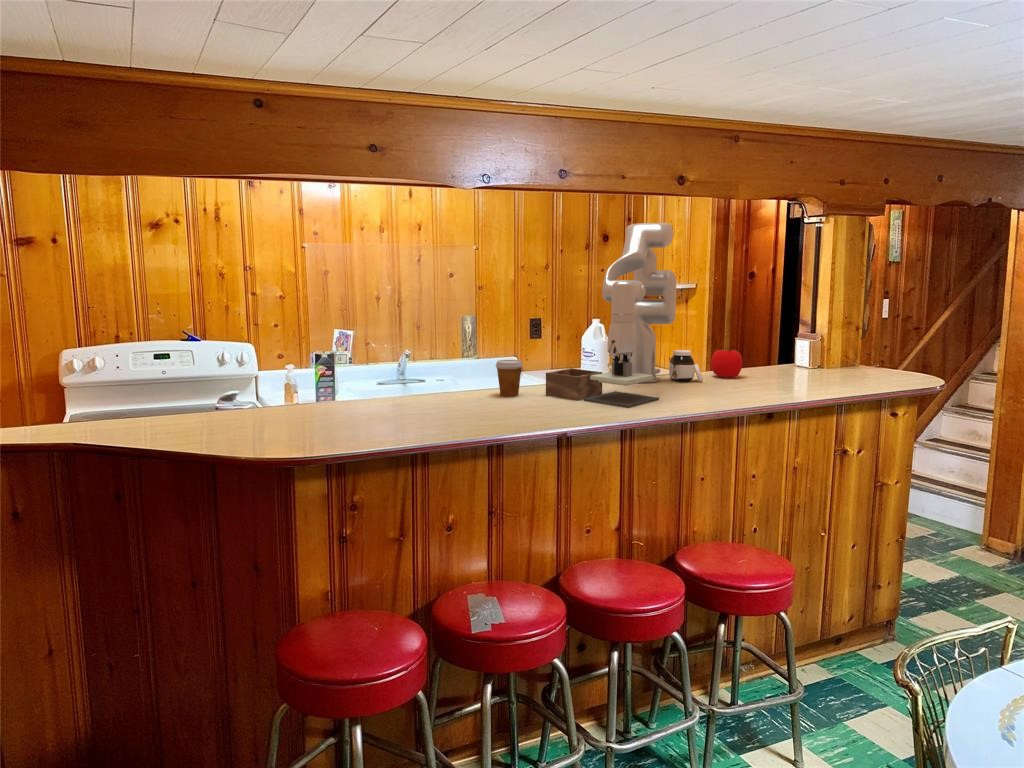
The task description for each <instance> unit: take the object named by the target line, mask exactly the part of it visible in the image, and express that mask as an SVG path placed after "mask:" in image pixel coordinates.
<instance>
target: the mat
mask: <svg viewBox="0 0 1024 768" xmlns="http://www.w3.org/2000/svg"><path fill="white" fill-rule="evenodd" d="M659 400H660V397H657V396H653V395H652V396H649V395H644V394H637V393H628V392H623V391H616V390H615V391H611V392H606V393H602V394H601V395H597V396H592V397H588V398H584V399H583V402H587V403H593V404H594V403H596V404H601V405H608V406H613V407H621V408H626V409H629V408H634V407H637V406H641V405H645V404H648V403H652V402H656V401H659Z"/></svg>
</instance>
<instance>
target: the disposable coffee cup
mask: <svg viewBox="0 0 1024 768" xmlns="http://www.w3.org/2000/svg"><path fill="white" fill-rule="evenodd" d="M495 367H496V370H497V371H496V373H497V378H498V386H499V394H500V396H501V397H505V398H506V397H507V398H510V397H512V398H513V397H519V393H520V392H519V390H520V383H521V374H522V368H523V362H522V360H518V359H500V360H497V361H496V364H495Z"/></svg>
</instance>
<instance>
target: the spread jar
mask: <svg viewBox="0 0 1024 768" xmlns="http://www.w3.org/2000/svg"><path fill="white" fill-rule="evenodd" d="M691 355H692V350H688V349H676V350H674V349H673V351H672V356H671V357H670V359H669V364H668V365H669V366H668V376H669V378H670V380H671V381H672V382H674V381H675V383H689V382H692V381H693V379H694V377H695V374H696V378H697V380H698V381H699V382H703V375H702V373H701V369H700V367H699V364H698V363H696V364H695V360H694V359H693V357H692V356H691Z"/></svg>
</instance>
